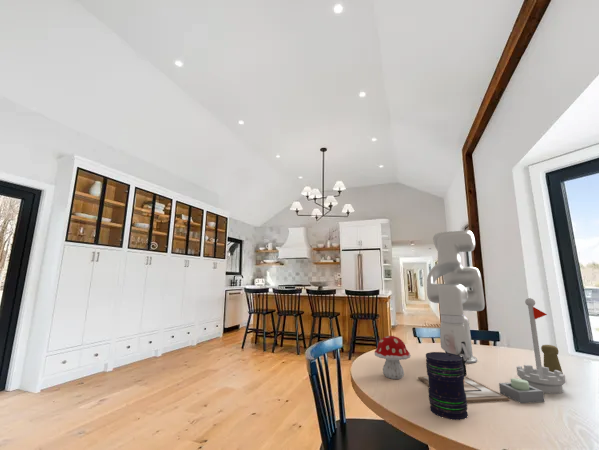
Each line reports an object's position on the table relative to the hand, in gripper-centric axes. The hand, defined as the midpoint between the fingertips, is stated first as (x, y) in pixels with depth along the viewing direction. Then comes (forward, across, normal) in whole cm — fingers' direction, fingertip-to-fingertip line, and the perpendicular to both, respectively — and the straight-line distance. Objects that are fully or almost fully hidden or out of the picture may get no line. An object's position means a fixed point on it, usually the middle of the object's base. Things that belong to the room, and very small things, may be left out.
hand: (457, 373), depth 102 cm
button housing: (+4, +10, +14) cm, 18 cm away
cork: (+5, -8, +44) cm, 45 cm away
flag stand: (+5, +4, +28) cm, 29 cm away
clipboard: (+4, +2, -1) cm, 5 cm away
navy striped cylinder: (+5, +18, -15) cm, 24 cm away
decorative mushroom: (+5, -13, -18) cm, 23 cm away
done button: (+3, +11, +14) cm, 18 cm away
